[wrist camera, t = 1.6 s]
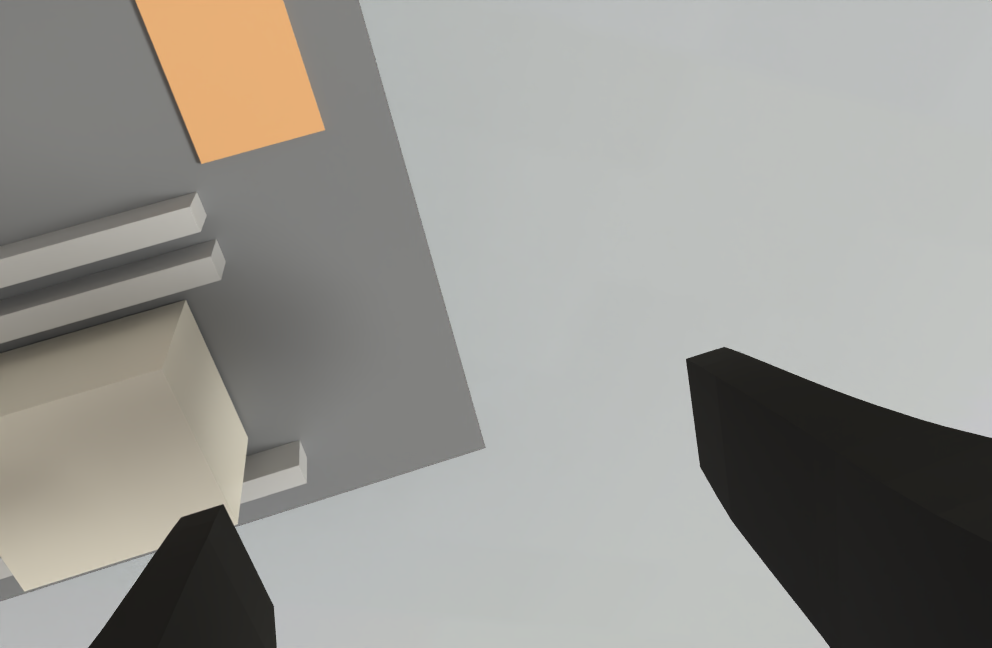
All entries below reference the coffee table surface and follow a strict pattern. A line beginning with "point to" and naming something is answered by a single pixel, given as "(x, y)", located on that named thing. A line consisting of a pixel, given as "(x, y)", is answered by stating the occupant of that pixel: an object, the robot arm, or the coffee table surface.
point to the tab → (111, 443)
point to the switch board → (232, 225)
